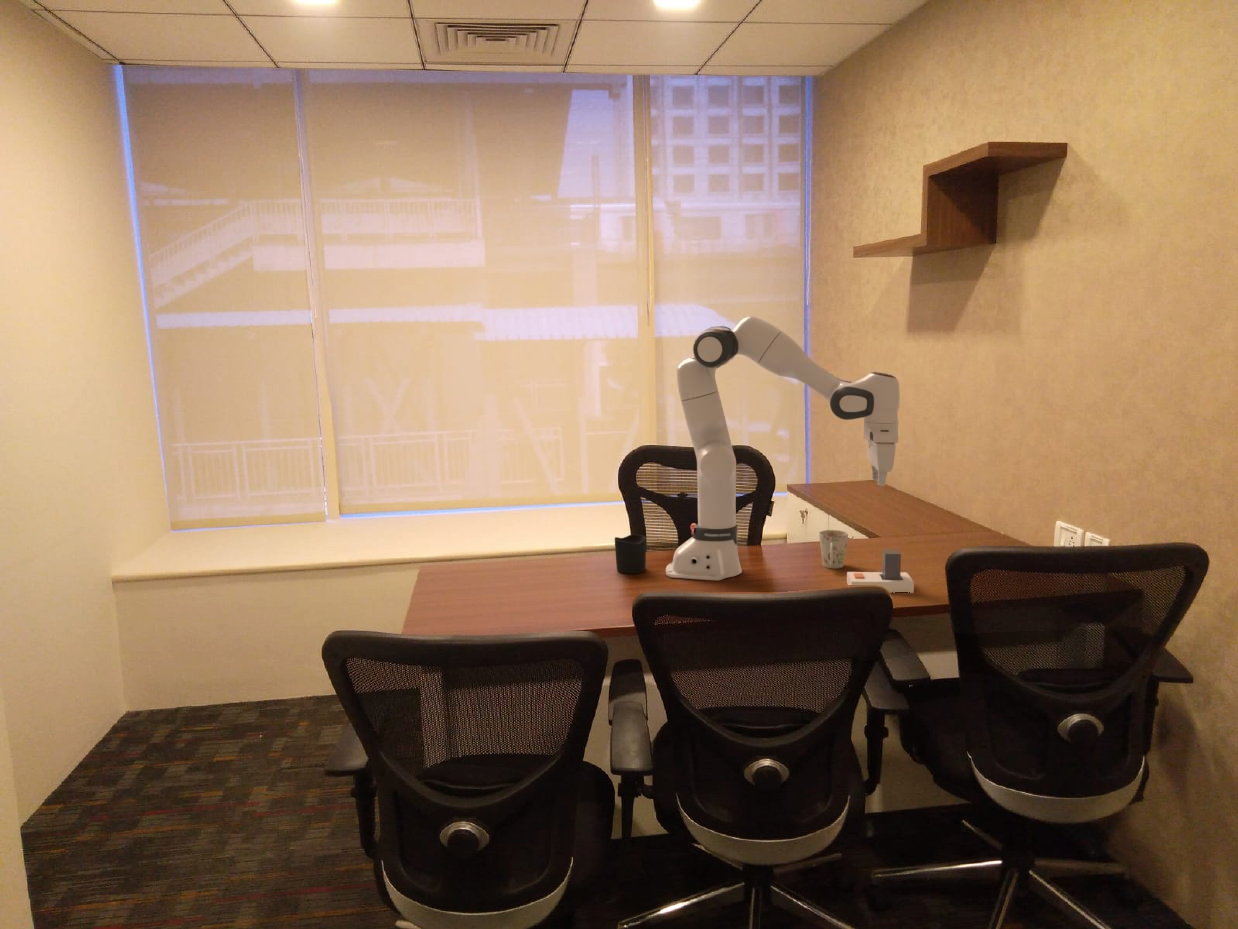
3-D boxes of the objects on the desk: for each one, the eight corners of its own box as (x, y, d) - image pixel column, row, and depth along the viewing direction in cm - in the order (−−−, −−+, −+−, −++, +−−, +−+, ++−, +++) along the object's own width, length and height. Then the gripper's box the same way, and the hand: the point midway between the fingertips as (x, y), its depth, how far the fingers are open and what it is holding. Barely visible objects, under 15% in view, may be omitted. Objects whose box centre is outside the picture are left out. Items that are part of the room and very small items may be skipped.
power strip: (851, 592, 216) (851, 579, 215) (846, 582, 224) (847, 570, 224) (913, 593, 213) (914, 580, 213) (906, 582, 222) (906, 570, 222)
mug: (847, 562, 244) (848, 530, 242) (847, 574, 232) (848, 540, 230) (819, 561, 246) (819, 529, 244) (818, 573, 234) (818, 539, 232)
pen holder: (643, 575, 238) (642, 542, 236) (612, 574, 240) (611, 541, 238) (649, 566, 247) (648, 534, 245) (619, 565, 249) (618, 534, 247)
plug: (884, 590, 217) (885, 554, 215) (881, 585, 221) (882, 550, 219) (900, 590, 216) (900, 554, 215) (897, 585, 220) (897, 550, 219)
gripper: (863, 428, 229) (861, 475, 231) (874, 436, 209) (872, 489, 211) (886, 428, 228) (883, 476, 230) (899, 437, 208) (897, 489, 210)
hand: (878, 482), depth 220 cm, fingers open, 8 cm apart
